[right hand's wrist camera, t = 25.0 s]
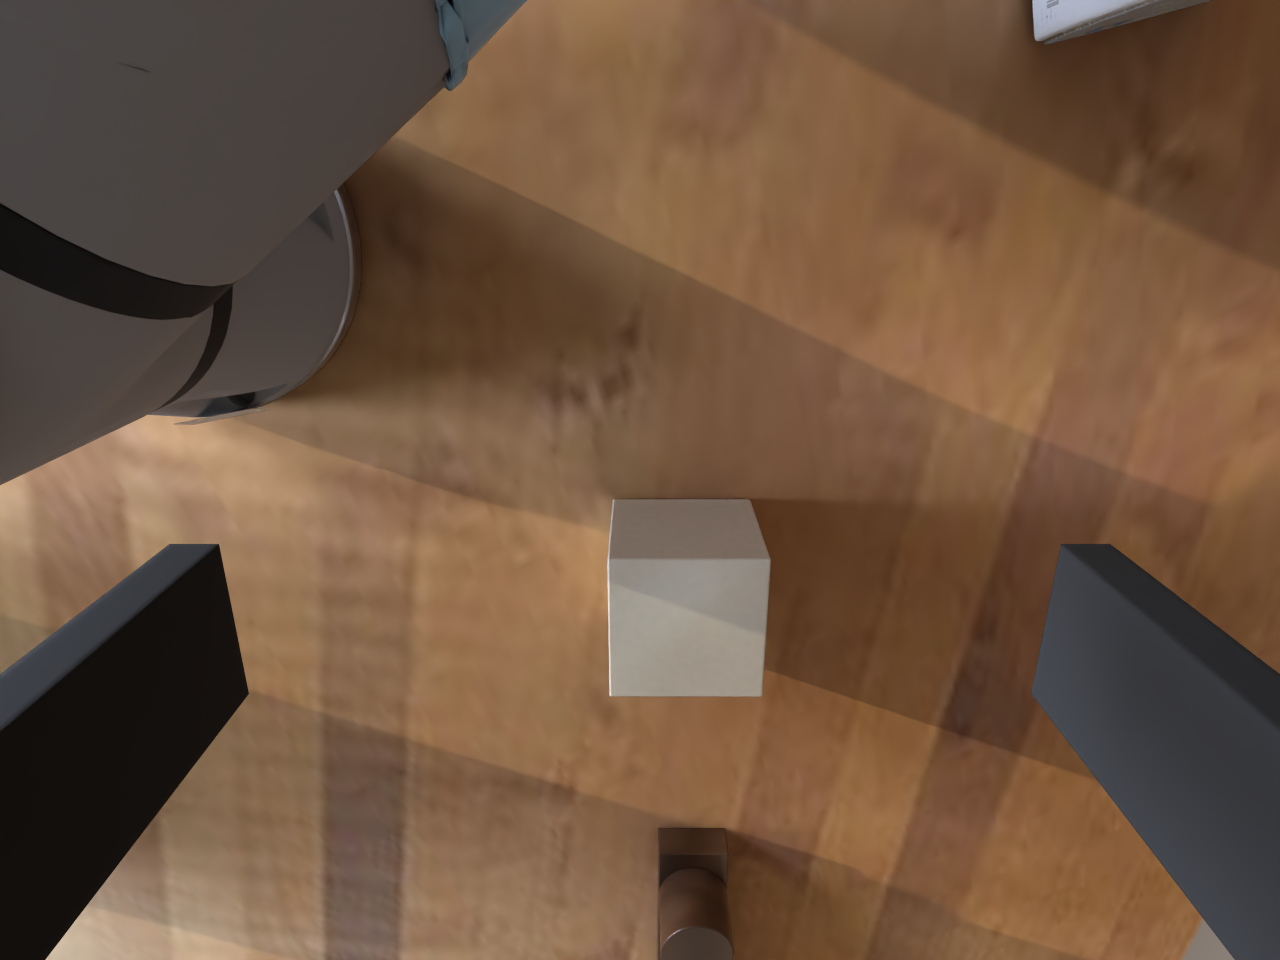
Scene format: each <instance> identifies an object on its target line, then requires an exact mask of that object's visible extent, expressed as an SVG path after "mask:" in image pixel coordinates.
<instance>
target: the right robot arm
mask: <svg viewBox="0 0 1280 960" xmlns="http://www.w3.org/2000/svg"><path fill="white" fill-rule="evenodd" d="M526 1H527V0H0V485H1V484H4V483H6V482H8V481H10V480H12V479H14V478H16V477H18V476H20V475H22V474H25V473H27V472H29V471H31V470H33V469H35V468H37V467H39V466H41V465H43V464H45V463H48V462H50V461H52V460H54V459H56V458H58V457H60V456H62V455H64V454H66V453H69V452H71V451H73V450H75V449H77V448H79V447H81V446H83V445H85V444H87V443H89V442H92V441H94V440H96V439H98V438H100V437H102V436H104V435H106V434H108V433H110V432H113V431H115V430H117V429H119V428H121V427H123V426H125V425H127V424H129V423H131V422H133V421H136V420H138V419H140V418H142V417H144V416H146V415H162V416H180V417H206V418H201V419H196V420H191V421H186V422H181V423H176V424H187V425H195V424H200V423H205V422H210V421H215V420H220V419H225V418H230V417H235V416H240V415H245V414H251V413H256V412H261V411H266V410H269V409H254V408H257V407H261V406H263V405H265V404H268V403H270V402H272V401H275V400H277V399H278V398H280V397H282V396H284V395H285V394H287V393H289V392H290V391H292V390H294V389H295V388H297V387H299V386H301V385H302V384H303V383H305V382H306V381H307V380H309V379H310V378H311V377H313V376H314V375H315V374H316V373H317V372H318V371H319V370H320V369H321V368H322V367H323V366H324V365H325V364H326V363H327V362H328V360H329V359H330V358H331V357H332V356H333V354H334V353H335V351H336V350H337V348H338V347H339V346H340V344H341V342H342V340H343V339H344V337H345V335H346V333H347V331H348V329H349V326H350V324H351V321H352V319H353V316H354V313H355V309H356V306H357V302H358V297H359V291H360V285H361V271H362V264H361V246H360V238H359V232H358V227H357V223H356V218H355V215H354V211H353V208H352V205H351V202H350V199H349V197H348V194H347V192H346V189H345V187H344V184H343V183H344V182H345V181H346V180H347V179H348V178H349V177H350V176H351V175H352V174H353V173H354V172H355V171H356V170H357V169H358V168H359V167H361V166H362V165H363V164H364V163H365V162H366V161H367V160H368V159H369V158H370V157H371V156H372V155H373V154H374V153H375V152H376V151H377V150H378V149H379V148H380V147H382V146H383V145H384V144H385V143H386V142H387V141H388V140H389V139H390V138H391V137H392V136H393V135H394V134H395V133H396V132H397V131H398V130H399V129H400V128H401V127H403V126H404V125H405V124H406V123H407V122H408V121H409V120H410V119H411V118H412V117H413V116H414V115H415V114H416V113H417V112H418V111H419V110H420V109H421V108H423V107H424V106H425V105H426V104H427V103H428V102H429V101H430V100H431V99H432V98H433V97H434V96H435V95H436V94H437V93H438V92H439V91H440V90H441V89H442V88H444V87H445V88H447V89H448V90H449V91H452V90H453V89H454V88H455V87H456V86H458V85H459V84H460V83H461V82H462V81H463V79H464V78H465V76H466V75H467V68H468V62H469V61H470V60H471V58H472V57H473V56H474V55H475V54H476V53H477V52H478V51H479V50H480V49H481V48H482V47H483V46H484V45H485V44H486V43H487V42H488V41H489V40H490V39H491V37H492V36H493V35H494V34H495V33H496V32H497V31H498V30H499V29H500V28H501V27H502V26H503V25H504V24H505V23H506V22H507V21H508V20H509V19H510V18H511V17H512V15H513V14H514V13H515V12H516V11H517V10H518V9H519V8H520V7H521V6H522V5H523V4H524V3H525V2H526ZM248 694H249V692H248V687H247V682H246V677H245V672H244V667H243V662H242V657H241V652H240V647H239V642H238V637H237V632H236V627H235V622H234V617H233V612H232V607H231V602H230V597H229V592H228V587H227V582H226V577H225V572H224V567H223V562H222V557H221V552H220V547H219V544H169V545H168V546H167V547H165V548H164V549H163V550H161V551H160V552H159V553H158V554H156V555H155V556H154V557H152V558H151V559H150V560H148V561H147V562H146V563H145V564H143V565H142V566H141V567H139V568H138V569H137V570H135V571H134V572H133V573H132V574H130V575H129V576H128V577H126V578H125V579H124V580H122V581H121V582H120V583H119V584H117V585H116V586H115V587H113V588H112V589H111V590H109V591H108V592H107V593H106V594H104V595H103V596H102V597H100V598H99V599H98V600H96V601H95V602H94V603H92V604H91V605H90V606H89V607H87V608H86V609H85V610H83V611H82V612H81V613H79V614H78V615H77V616H76V617H74V618H73V619H72V620H70V621H69V622H68V623H66V624H65V625H64V626H63V627H61V628H60V629H59V630H57V631H56V632H55V633H53V634H52V635H51V636H50V637H48V638H47V639H46V640H44V641H43V642H42V643H40V644H39V645H38V646H37V647H35V648H34V649H33V650H31V651H30V652H29V653H27V654H26V655H25V656H24V657H22V658H21V659H20V660H18V661H17V662H16V663H14V664H13V665H12V666H10V667H9V668H8V669H7V670H5V671H4V672H3V673H1V674H0V960H45V959H46V958H47V957H48V955H49V954H50V953H51V951H52V950H53V949H54V947H55V946H56V945H57V944H58V942H59V941H60V940H61V938H62V937H63V936H64V934H65V933H66V932H67V931H68V929H69V928H70V927H71V925H72V924H73V923H74V921H75V920H76V919H77V917H78V916H79V915H80V914H81V912H82V911H83V910H84V908H85V907H86V906H87V904H88V903H89V902H90V900H91V899H92V898H93V897H94V895H95V894H96V893H97V891H98V890H99V889H100V887H101V886H102V885H103V884H104V882H105V881H106V880H107V878H108V877H109V876H110V874H111V873H112V872H113V870H114V869H115V868H116V867H117V865H118V864H119V863H120V861H121V860H122V859H123V857H124V856H125V855H126V853H127V852H128V851H129V850H130V848H131V847H132V846H133V844H134V843H135V842H136V840H137V839H138V838H139V836H140V835H141V834H142V833H143V831H144V830H145V829H146V827H147V826H148V825H149V823H150V822H151V821H152V820H153V818H154V817H155V816H156V814H157V813H158V812H159V810H160V809H161V808H162V806H163V805H164V804H165V803H166V801H167V800H168V799H169V797H170V796H171V795H172V793H173V792H174V791H175V789H176V788H177V787H178V786H179V784H180V783H181V782H182V780H183V779H184V778H185V776H186V775H187V774H188V773H189V771H190V770H191V769H192V767H193V766H194V765H195V763H196V762H197V761H198V759H199V758H200V757H201V756H202V754H203V753H204V752H205V750H206V749H207V748H208V746H209V745H210V744H211V742H212V741H213V740H214V739H215V737H216V736H217V735H218V733H219V732H220V731H221V729H222V728H223V727H224V725H225V724H226V723H227V722H228V720H229V719H230V718H231V716H232V715H233V714H234V712H235V711H236V710H237V709H238V707H239V706H240V705H241V703H242V702H243V701H244V699H245V698H246V697H247V695H248ZM1031 694H1032V695H1033V697H1034V698H1035V699H1036V701H1037V702H1038V703H1039V705H1040V706H1041V707H1042V709H1043V710H1044V711H1045V712H1046V714H1047V715H1048V716H1049V718H1050V719H1051V720H1052V722H1053V723H1054V724H1055V725H1056V727H1057V728H1058V729H1059V731H1060V732H1061V733H1062V735H1063V736H1064V737H1065V739H1066V740H1067V741H1068V742H1069V744H1070V745H1071V746H1072V748H1073V749H1074V750H1075V752H1076V753H1077V754H1078V756H1079V757H1080V758H1081V759H1082V761H1083V762H1084V763H1085V765H1086V766H1087V767H1088V769H1089V770H1090V771H1091V773H1092V774H1093V775H1094V776H1095V778H1096V779H1097V780H1098V782H1099V783H1100V784H1101V786H1102V787H1103V788H1104V789H1105V791H1106V792H1107V793H1108V795H1109V796H1110V797H1111V799H1112V800H1113V801H1114V803H1115V804H1116V805H1117V806H1118V808H1119V809H1120V810H1121V812H1122V813H1123V814H1124V816H1125V817H1126V818H1127V820H1128V821H1129V822H1130V823H1131V825H1132V826H1133V827H1134V829H1135V830H1136V831H1137V833H1138V834H1139V835H1140V836H1141V838H1142V839H1143V840H1144V842H1145V843H1146V844H1147V846H1148V847H1149V848H1150V850H1151V851H1152V852H1153V853H1154V855H1155V856H1156V857H1157V859H1158V860H1159V861H1160V863H1161V864H1162V865H1163V867H1164V868H1165V869H1166V870H1167V872H1168V873H1169V874H1170V876H1171V877H1172V878H1173V880H1174V881H1175V882H1176V884H1177V885H1178V886H1179V887H1180V889H1181V890H1182V891H1183V893H1184V894H1185V895H1186V897H1187V898H1188V899H1189V900H1190V902H1191V903H1192V904H1193V906H1194V907H1195V908H1196V910H1197V911H1198V912H1199V914H1200V915H1201V916H1202V917H1203V919H1204V920H1205V921H1206V923H1207V924H1208V925H1209V927H1210V928H1211V929H1212V930H1213V932H1214V933H1215V934H1216V936H1217V937H1218V938H1219V940H1220V941H1221V942H1222V944H1223V945H1224V946H1225V947H1226V949H1227V950H1228V951H1229V953H1230V954H1231V955H1232V957H1233V958H1234V959H1235V960H1280V674H1279V673H1277V672H1276V671H1275V670H1273V669H1272V668H1271V667H1270V666H1268V665H1267V664H1266V663H1264V662H1263V661H1262V660H1260V659H1259V658H1258V657H1256V656H1255V655H1254V654H1253V653H1251V652H1250V651H1249V650H1247V649H1246V648H1245V647H1243V646H1242V645H1241V644H1240V643H1238V642H1237V641H1236V640H1234V639H1233V638H1232V637H1230V636H1229V635H1228V634H1227V633H1225V632H1224V631H1223V630H1221V629H1220V628H1219V627H1217V626H1216V625H1215V624H1214V623H1212V622H1211V621H1210V620H1208V619H1207V618H1206V617H1204V616H1203V615H1202V614H1201V613H1199V612H1198V611H1197V610H1195V609H1194V608H1193V607H1191V606H1190V605H1189V604H1188V603H1186V602H1185V601H1184V600H1182V599H1181V598H1180V597H1178V596H1177V595H1176V594H1174V593H1173V592H1172V591H1171V590H1169V589H1168V588H1167V587H1165V586H1164V585H1163V584H1161V583H1160V582H1159V581H1158V580H1156V579H1155V578H1154V577H1152V576H1151V575H1150V574H1148V573H1147V572H1146V571H1145V570H1143V569H1142V568H1141V567H1139V566H1138V565H1137V564H1135V563H1134V562H1133V561H1132V560H1130V559H1129V558H1128V557H1126V556H1125V555H1124V554H1122V553H1121V552H1120V551H1119V550H1117V549H1116V548H1115V547H1113V546H1112V545H1111V544H1061V547H1060V552H1059V557H1058V562H1057V567H1056V572H1055V577H1054V582H1053V587H1052V592H1051V597H1050V602H1049V607H1048V612H1047V617H1046V622H1045V627H1044V632H1043V637H1042V642H1041V647H1040V652H1039V657H1038V662H1037V667H1036V672H1035V677H1034V682H1033V687H1032V692H1031Z"/></svg>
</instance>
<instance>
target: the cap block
mask: <svg viewBox="0 0 1280 960" xmlns="http://www.w3.org/2000/svg"><path fill="white" fill-rule="evenodd" d="M607 565H608V630H609V694H610V696H611V697H761V696H762V695H763V680H764V664H765V648H766V632H767V616H768V600H769V585H770V569H771V559H770V556H769V553H768V550H767V547H766V544H765V541H764V538H763V535H762V532H761V530H760V527H759V524H758V521H757V518H756V515H755V512H754V509H753V506H752V503H751V501H750V499H614V500H613V503H612V514H611V526H610V537H609V548H608V559H607Z"/></svg>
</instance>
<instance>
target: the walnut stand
mask: <svg viewBox="0 0 1280 960" xmlns="http://www.w3.org/2000/svg"><path fill="white" fill-rule="evenodd" d="M727 870H728V848H727V841H726V833H725V828H659V829H658V912H657V960H732V959H733V956H734V948H733V940H732V932H731V924H730V916H729V908H728V899H727V891H726V890H727Z"/></svg>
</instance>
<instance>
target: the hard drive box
mask: <svg viewBox="0 0 1280 960" xmlns="http://www.w3.org/2000/svg"><path fill="white" fill-rule="evenodd" d="M1208 1H1211V0H1032V2H1033V21H1034V37H1035V40H1036V41H1043V42H1044V44H1051V43H1055V42H1059V41H1063V40H1068V39H1072V38H1075V37H1079V36H1083V35H1087V34H1091V33H1095V32H1099V31H1102V30H1106V29H1110V28H1113V27H1117V26H1121V25H1124V24H1128V23H1132V22H1135V21H1139V20H1143V19H1147V18H1150V17H1154V16H1158V15H1162V14H1165V13H1169V12H1173V11H1176V10H1180V9H1184V8H1187V7H1191V6H1195V5H1198V4H1202V3H1205V2H1208Z"/></svg>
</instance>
